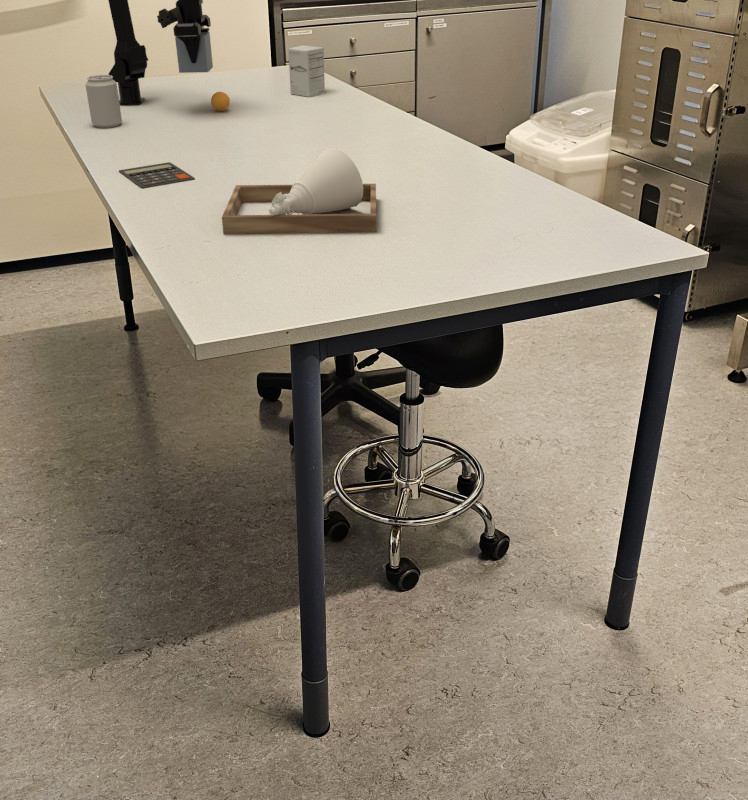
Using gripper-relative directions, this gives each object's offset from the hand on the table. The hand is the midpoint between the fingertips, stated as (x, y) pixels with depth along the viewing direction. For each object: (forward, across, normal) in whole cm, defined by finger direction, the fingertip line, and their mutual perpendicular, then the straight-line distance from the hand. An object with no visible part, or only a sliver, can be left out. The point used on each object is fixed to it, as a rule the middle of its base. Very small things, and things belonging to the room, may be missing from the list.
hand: (196, 60), depth 241 cm
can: (+13, +14, -22) cm, 29 cm away
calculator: (+14, +60, +1) cm, 62 cm away
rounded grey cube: (+2, 0, 0) cm, 2 cm away
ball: (+11, 0, +5) cm, 12 cm away
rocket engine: (+14, +88, +35) cm, 95 cm away
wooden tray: (+14, +87, +34) cm, 95 cm away
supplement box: (+14, -22, +27) cm, 37 cm away
